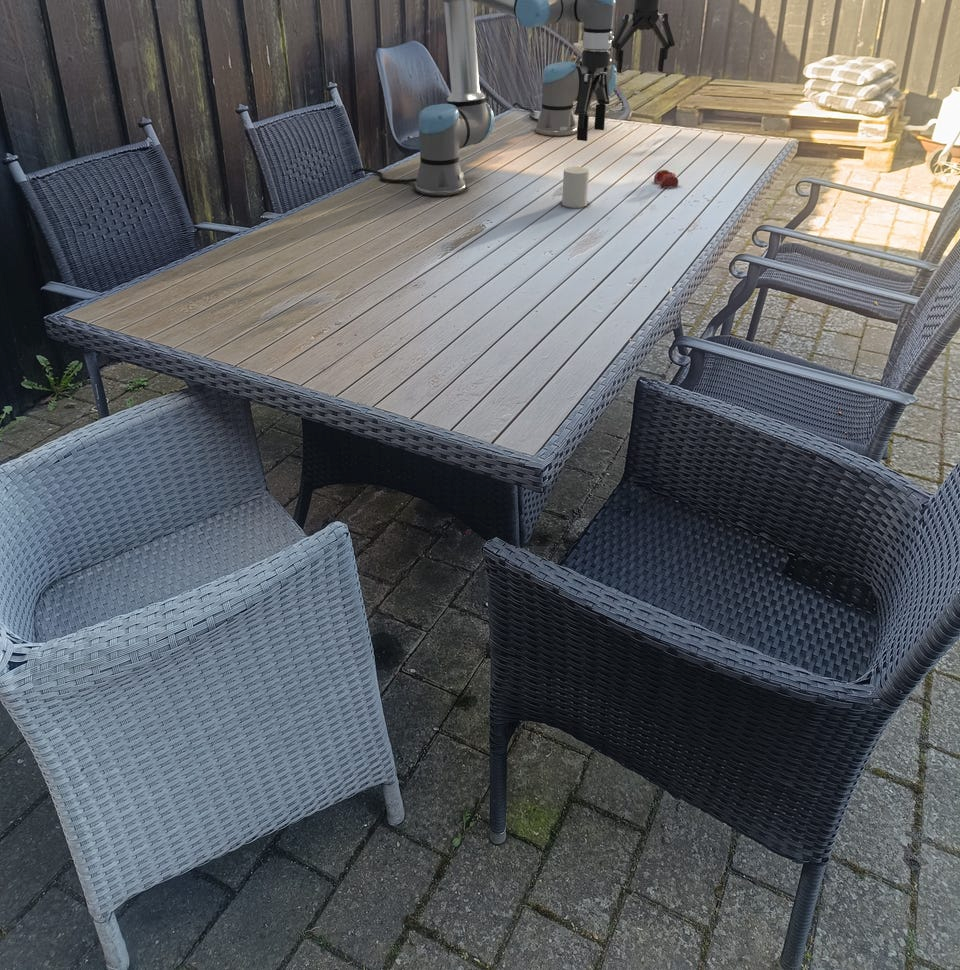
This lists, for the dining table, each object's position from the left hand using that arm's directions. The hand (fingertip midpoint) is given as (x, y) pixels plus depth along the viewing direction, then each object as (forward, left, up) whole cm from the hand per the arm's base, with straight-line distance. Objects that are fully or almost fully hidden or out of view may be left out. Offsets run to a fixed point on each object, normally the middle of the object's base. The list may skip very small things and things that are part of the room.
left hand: (590, 134), depth 233 cm
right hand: (-15, +50, +8) cm, 53 cm away
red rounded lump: (+7, +34, -20) cm, 40 cm away
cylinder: (-4, 0, -20) cm, 20 cm away
